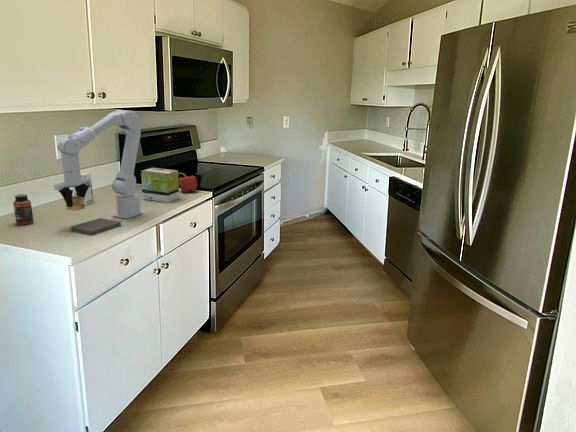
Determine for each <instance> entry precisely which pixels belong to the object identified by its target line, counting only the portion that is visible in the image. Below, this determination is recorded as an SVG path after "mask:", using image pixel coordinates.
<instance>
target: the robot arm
mask: <svg viewBox="0 0 576 432" xmlns="http://www.w3.org/2000/svg"><path fill="white" fill-rule="evenodd" d="M139 122H140V117H139V116H138V114H137V113H136V112H135V111H133V110H126V109H125V110H124V109H120V108H119V109H115V110H114V111H112V112H110V113H108V114H107V115H106V116H105V117H103V118H102V119H100V120H99V121H98V122H96V123H94V124H93V125H92V126H90V127H87V126H83V127H82V126H80V127H79V128H78V131H75V132H74V133H72V134H71V133H70V134H68V137H64V138H62V139H60V140H59V142H58V145H57V149H58V151H59V152H60V154H61V163H62V170H63V171H62V172H63V180H64V181H63V182H60V183H57V184H54V185H53V187H54V191H58V192H59V194H61V196H62V198H63V199H64V201H65V205H66V204H67V207H72V205H73V203H72V196H73V194H74V189H70V188H73V187H75V190H76V193H77V196H80V197H84V199H85V195H86V192H87V190H88V186H87V185H86V184H91V183H92V178H91V179H81V174H80V172H81V167H80V158H79V153H81V150H82V148H85V147H86V146H88V145H89V144H90V143H92V142H93V141H96V140H95V139H96V136H97V135H98V134H100V133H102V132H104V131H105V130H107V129H109V128H111V127H112V126H117V127H119V128H120V129H122V131H123V132H124V133H125V134H126V135H125V141H124V146H123V151H122V157H121V161H120V162H121V163H120V169H119V172H117V173H116V175H115V178H114V179H113V181H112V184H111V188H112V190H113V191H114V192H115V201H116V213H114V214H113V215H112V217H117V218H120V219H121V218H122V219H130V218H133V217H137V216H140V215H142V214H143V212H142V211H141V210H142V209H141V199H140V196H139V195H138V194H137V190H138V186H137V178H136V176H135V175H134V173H135V169H136V168H135V167H136V161H137V156H138V150H139V145H140V140H141V134H142V132H141V127H140V123H139Z"/></svg>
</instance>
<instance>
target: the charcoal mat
mask: <svg viewBox="0 0 576 432" xmlns="http://www.w3.org/2000/svg"><path fill="white" fill-rule="evenodd" d="M121 226H122V223H121V221H117V220H113V219H108V218H102V217H98V218H96V219H92V220H89V221H86V222H83V223H79V224H75V225H73V226H70V231H71V232H76V233H80V234H83V235H84V234H85V235H87V236H88V235H89V236H95V235H97V234H100V233H103V232H106V231H110V230H112V229H116V228H118V227H121Z"/></svg>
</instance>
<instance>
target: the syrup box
mask: <svg viewBox="0 0 576 432" xmlns="http://www.w3.org/2000/svg"><path fill="white" fill-rule="evenodd" d="M80 174H81V179H91V180H92V177H91V172H89V171H80ZM86 185H87V186H88V190H87V192H86V195H85V199H84V205H85V206H87V205H90V204H92V203H94V194H93V185H92V182H91V184H86ZM72 188H73V189H72V190H73V194H74V195H73V196H77V193H76V190H75V187H72Z"/></svg>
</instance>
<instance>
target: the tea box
mask: <svg viewBox="0 0 576 432" xmlns="http://www.w3.org/2000/svg"><path fill="white" fill-rule="evenodd" d="M178 173H179V170H177V169H167V168H159V167H150V168H147V169H144V170H140V175H141V176H140V177H141V178H140V179H141V193H142V194H141V195H142V200H147V201H148V200H149V201H154V202H162V203H167V204H169V203H171V202H173V201H177V200H178V199H180V196H179V195H180V194H179V193H180V192H179V191H180V190H179V188H180V186H179V183H178V179H179V175H178Z"/></svg>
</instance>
